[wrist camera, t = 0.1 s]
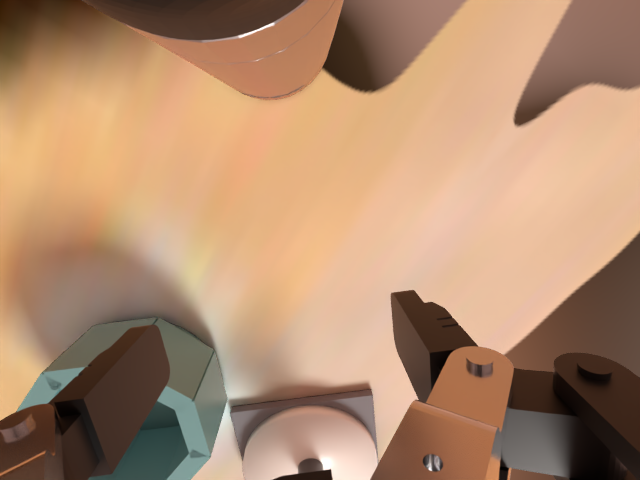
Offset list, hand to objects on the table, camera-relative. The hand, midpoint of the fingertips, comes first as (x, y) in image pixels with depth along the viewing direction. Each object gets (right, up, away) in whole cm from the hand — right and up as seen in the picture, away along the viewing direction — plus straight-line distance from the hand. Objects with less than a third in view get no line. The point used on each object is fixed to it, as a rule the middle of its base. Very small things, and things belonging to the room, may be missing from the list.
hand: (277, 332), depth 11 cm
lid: (0, -20, +24) cm, 31 cm away
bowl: (-15, -10, +21) cm, 28 cm away
